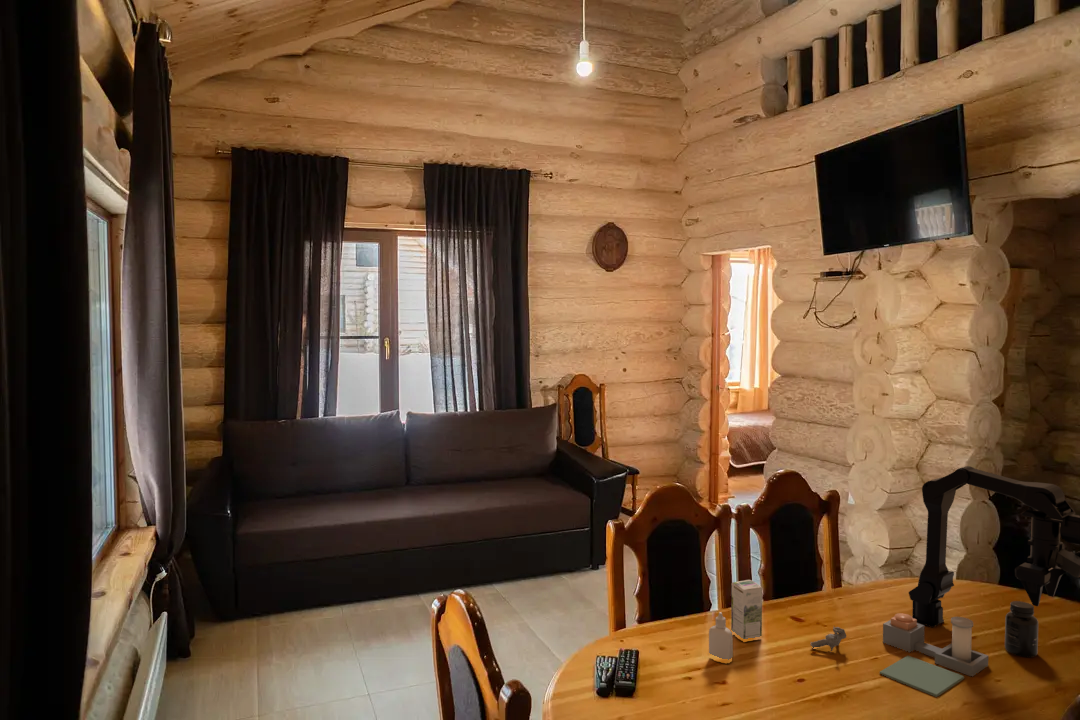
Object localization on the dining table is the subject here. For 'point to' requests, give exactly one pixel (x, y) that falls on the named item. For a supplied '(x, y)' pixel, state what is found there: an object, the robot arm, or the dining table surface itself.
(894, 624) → the plunger
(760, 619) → the syrup box
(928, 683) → the green mat
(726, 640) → the eye dropper bottle
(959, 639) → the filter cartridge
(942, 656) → the grey long framed piece
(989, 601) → the dining table surface
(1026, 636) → the supplement bottle
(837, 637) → the grey limbed figure piece
